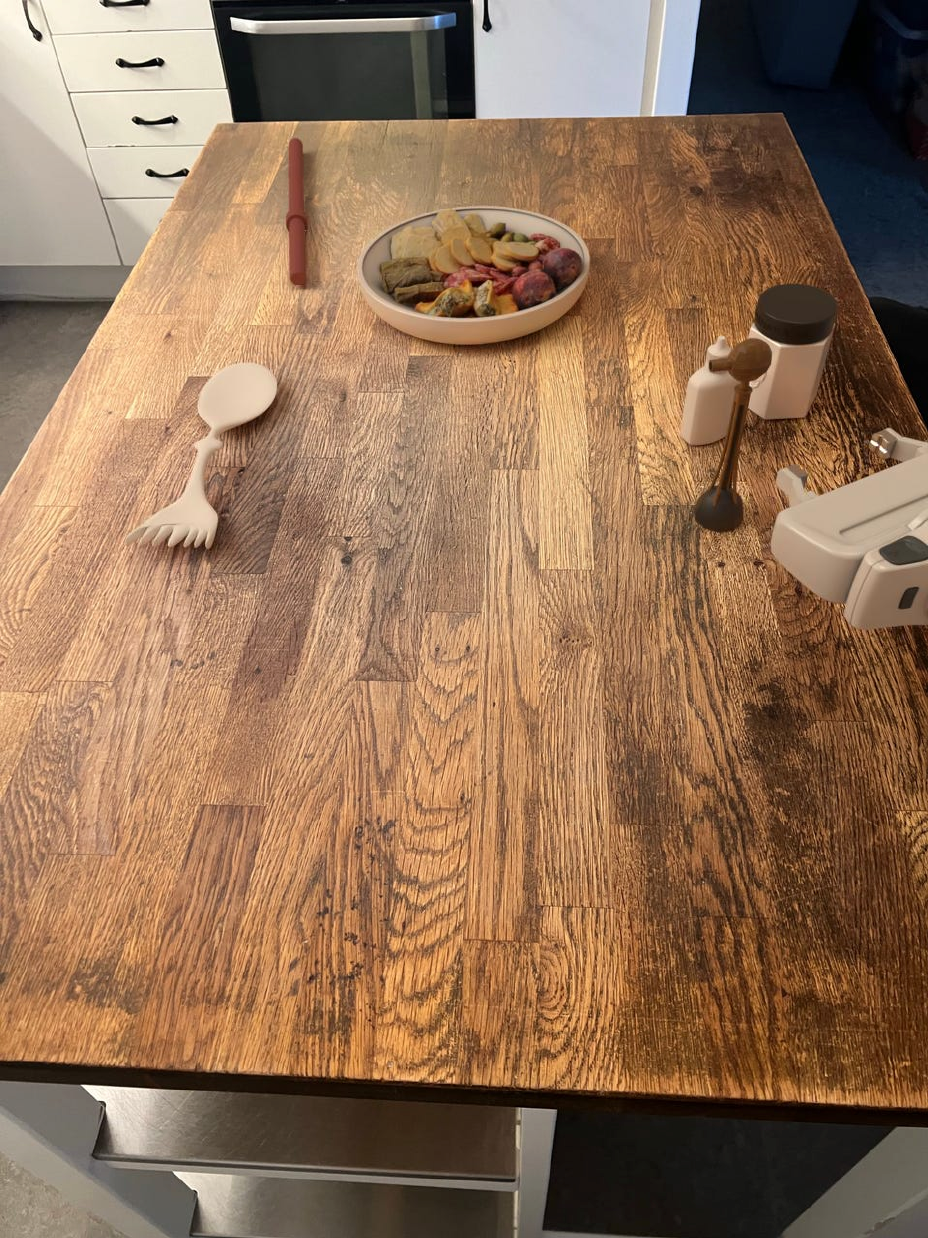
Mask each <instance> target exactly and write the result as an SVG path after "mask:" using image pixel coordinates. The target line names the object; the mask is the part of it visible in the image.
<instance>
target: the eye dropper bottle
mask: <svg viewBox="0 0 928 1238" xmlns="http://www.w3.org/2000/svg"><path fill="white" fill-rule="evenodd" d="M726 341H727V340H726V336H724V335H719V336H718V337H717V340H716V342H715V343H712V344H711V345H709V346H708V347H707V350H706V355H705V362H704V366H701V367H700V368H699V369H697V370H696V371H695V372H694V373H692V375H691V376H690V377H689V378H688V382H687V386H686V392H685V398H684V404H683V409H682V410H683V411H682V418H681V424H680V431H679V436H680V437H681V439H682V440H684V441H685V442H686V443H687V445H690V446H703V445H705V446H706V445H710V444H713V443H715V442H716V443H717V442H718V441H720V440H722V439H724V438H726V434H727V430H728V425H729V420H730V415H731V410H732V404H733V399H734V394H735V391H734V387H735V386H736V385H737V384H740V381H737V380H735V379H734V378H733V377H732V376H731V375H730V374H729V372H728V370H727V371H720V372H712V373H711V372H710V371H709V361H710V360H715V359H722V358H728V355H729V353H730V352H731V351H732V348H731V347H730V346H729V345H727V343H726Z"/></svg>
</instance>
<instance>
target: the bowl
mask: <svg viewBox="0 0 928 1238" xmlns="http://www.w3.org/2000/svg"><path fill="white" fill-rule="evenodd" d="M590 256H591V255H590V252H589V248H588V246H587V244H586V242H585V241H584V239H583V238H582V237H581V236H580V234H578V233H577V232H576V231H575V230H573V229H572V228H571V227H569V226H568V225H566V224H565V223H563V222H562V221H559V220H557V219H555V218H552V217H550V216H547V215H545V214H543V213H538V212H535V211H532V210H531V211H530V210H526V209H522V208H516V207H507V206H496V205H471V206H470V205H468V206H457V207H449V208H443V209H437V210H434V211H429V212H425V213H421V214H417V215H415V216H411V217H409V218H405V219H404V220H401V221H399V222H397V223H395V224H393V225H391V226H389V227H387V228H386V229H383V230H382V231H381V232H379V233H378V234H377V235H376V236H374V237H373V238H372V239H371V240H370V241H369V242H368V243H367V244H366V245H365V247H364V248H363V249H362V251H361V253H360V254H359V257H358V260H357V262H356V263H357V264H356V275H357V281H358V286H359V288H360V292H361V294H362V296H363V298H364V300H365V302H366V303H367V305H368V306H369V308H370V309H371V310H372V311H373V312H374V313H375V314H376V315H377V317H379V318H380V319H381V320H382V321H383V322H385V323H386V324H388V325H389V326H390V327H392V328H394V329H396V330H397V331H400V332H402V333H404V334H407V335H409V336H413V337H415V338H418V339H422V340H425V341H429V342H433V343H441V344H446V345H447V344H448V345H465V346H466V345H485V344H495V343H500V342H506V341H510V340H514V339H518V338H521V337H525V336H527V335H530V334H533V333H535V332H538V331H539V330H542V329H544V328H546V327H548V326H550V325H551V324H553V323H554V322H556V321H557V320H559V319H560V318H562V317H563V316H564V315H565V314H566V313H567V312H569V311H570V309H571V308H572V307H573V306H574V305H575V304H576V303H577V302H578V300H579V298H580V297H581V296H582V294H583V292H584V290H585V288H586V285H587V283H588V279H589V274H590V273H589V272H590V267H591V265H590V264H591V257H590Z"/></svg>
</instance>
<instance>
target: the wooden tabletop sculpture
mask: <svg viewBox="0 0 928 1238" xmlns="http://www.w3.org/2000/svg"><path fill="white" fill-rule="evenodd" d="M731 350H732V351H731V352H730V353H729V355H728V358H722V359H715V360H710V361H709V371H710V372H711V373H712V372H720V371H727V370H728V372H729V374H730V375H731V376H732V377H733V378H734V379H735V380H737V381H740V384H737V385H736V386H735V387H734V391H735V394H734V399H733V404H732V410H731V415H730V420H729V425H728V430H727V434H726V436H725V438H724V444H723V447H722V451H721V455H720V459H719V462H718V465H717V469H716V471H715V474H714V476H713V478H712V481H711V483H710V485H709V488H708V489H706V490H705V491H704V492H702V493H701V494H700V496H698V498H697V500H696V503H695V506H694V520H695V521H696V522H697V523H698V524H699V525H700V526H701V527H702V528H703V529H705V530H709V531H712V532H716V533H725V532H733V531H735V529H737V528H738V527H739V526H740V525H742V523H743V521H744V501H743V497H742V496H741V495H740V493H738V491H737V486H738V485H737V484H738V483H737V481H738V468H739V461H740V460H739V459H740V453H741V446H742V441H743V434H744V429H745V426H746V421H747V420H746V419H747V415H748V410H749V409H748V406H749V401H750V396H751V393H752V391H753V389H752V387H751V386H750V385H749V383H750V381H754V380H757V379H758V378H759V377H761V376H762V375H763V374H765V373H766V372H767V370H768V369H769V367H770V365H771V361H772V351H771V348H770V346H769V345H768V344H767V343H766V342H764V341H763V340H761V339H758V338H749V339H748V338H746V339H745V340H742V341H739V342H738V343H736V344H735V346H733V348H731ZM719 476H720V477H719ZM718 478H719V481H718V484H717V485H716V482H717V480H718Z"/></svg>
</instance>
